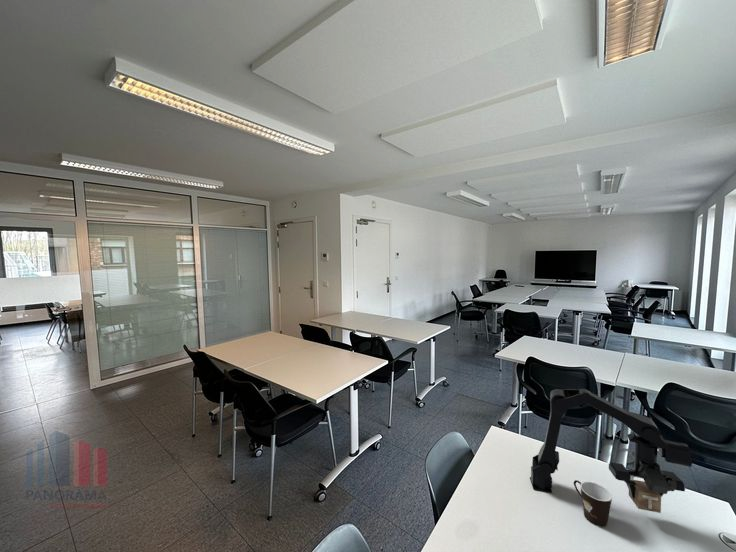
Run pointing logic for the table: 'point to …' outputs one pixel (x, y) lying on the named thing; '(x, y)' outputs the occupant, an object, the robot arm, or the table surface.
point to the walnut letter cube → (646, 498)
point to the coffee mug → (595, 502)
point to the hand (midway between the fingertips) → (644, 499)
